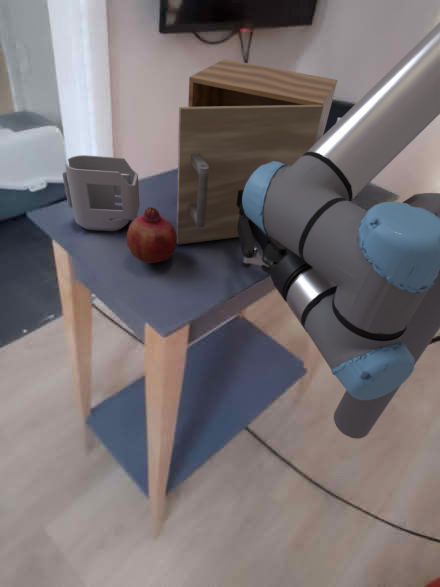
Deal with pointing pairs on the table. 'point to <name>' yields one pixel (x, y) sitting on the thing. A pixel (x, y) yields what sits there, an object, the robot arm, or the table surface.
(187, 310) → the table surface
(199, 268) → the table surface
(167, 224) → the fruit
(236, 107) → the cupboard door
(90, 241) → the table surface
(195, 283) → the table surface
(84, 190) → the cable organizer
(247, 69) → the cupboard
